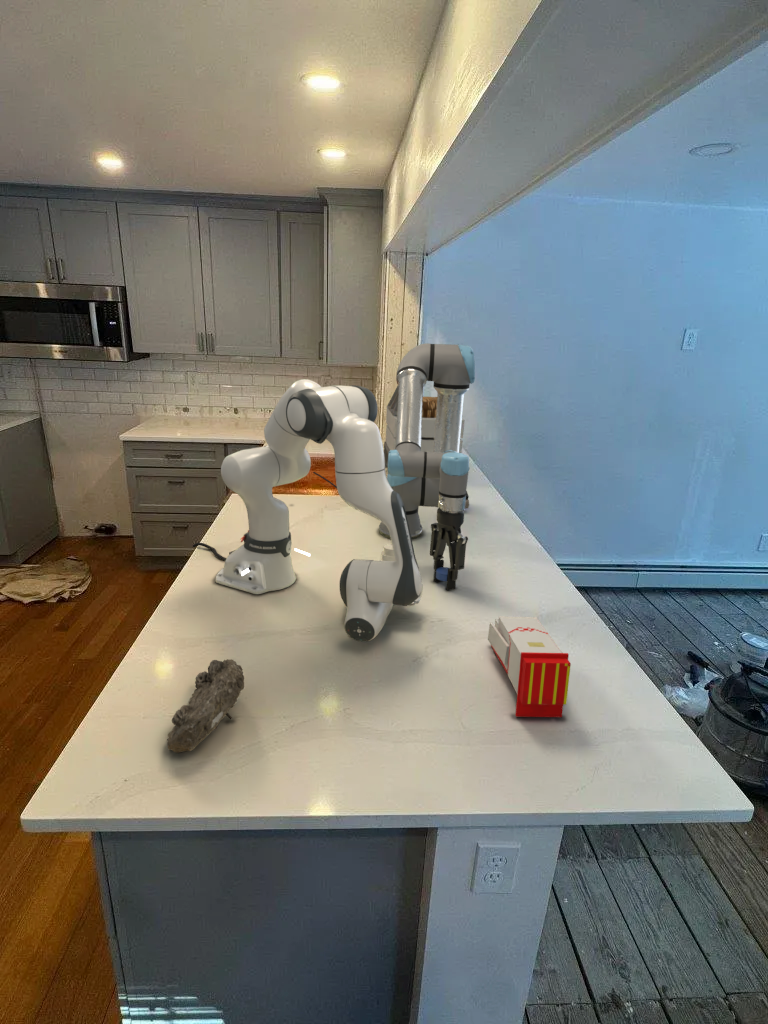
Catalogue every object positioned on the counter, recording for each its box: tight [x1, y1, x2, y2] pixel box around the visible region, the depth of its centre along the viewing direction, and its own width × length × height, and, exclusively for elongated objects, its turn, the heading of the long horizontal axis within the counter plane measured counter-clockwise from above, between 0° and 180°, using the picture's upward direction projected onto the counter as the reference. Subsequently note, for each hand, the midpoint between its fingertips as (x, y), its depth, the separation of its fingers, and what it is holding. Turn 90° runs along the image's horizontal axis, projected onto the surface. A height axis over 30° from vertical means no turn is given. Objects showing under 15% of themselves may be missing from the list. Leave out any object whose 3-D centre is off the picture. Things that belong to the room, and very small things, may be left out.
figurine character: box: [463, 490, 470, 513], centre depth 227 cm, size 7×8×15 cm
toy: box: [487, 616, 572, 718], centre depth 123 cm, size 12×13×30 cm
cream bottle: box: [380, 543, 396, 561], centre depth 153 cm, size 5×5×16 cm
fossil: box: [166, 658, 245, 754], centre depth 106 cm, size 22×10×15 cm
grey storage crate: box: [383, 385, 465, 468], centre depth 268 cm, size 34×33×41 cm
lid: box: [436, 566, 449, 582], centre depth 163 cm, size 5×5×2 cm
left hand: (389, 574), depth 154 cm, fingers closed on cream bottle, 5 cm apart
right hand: (444, 584), depth 164 cm, fingers closed on lid, 5 cm apart
